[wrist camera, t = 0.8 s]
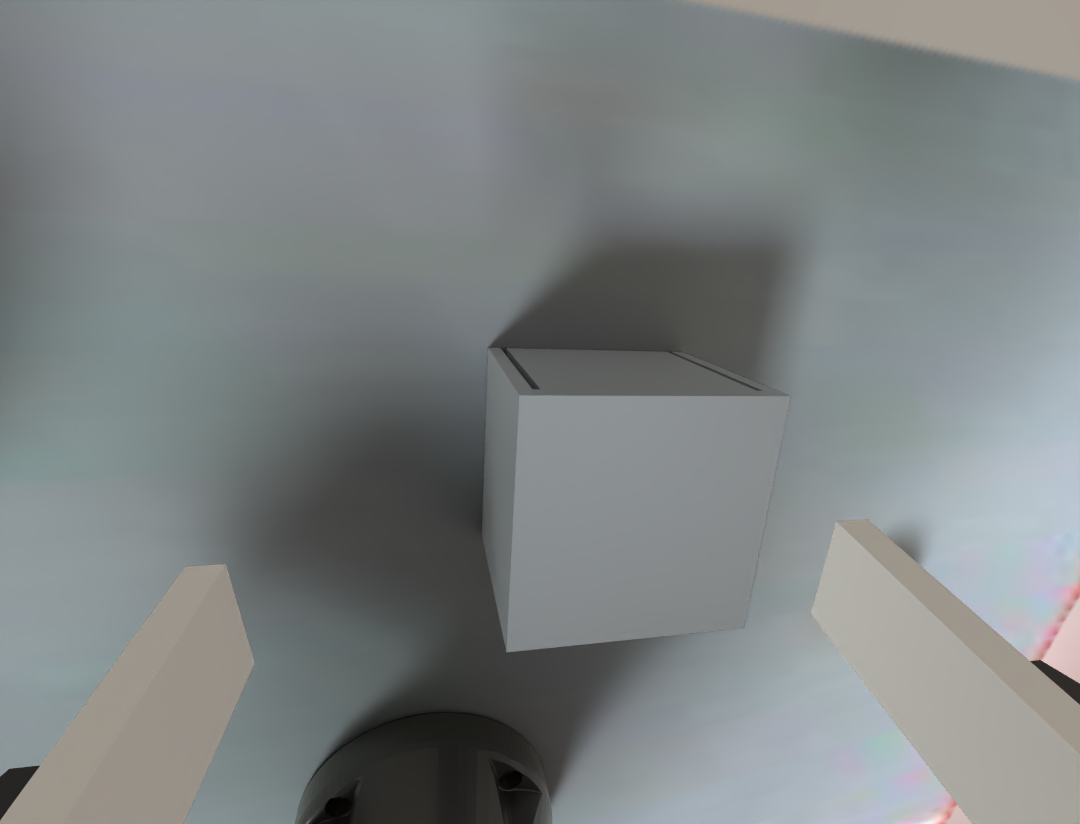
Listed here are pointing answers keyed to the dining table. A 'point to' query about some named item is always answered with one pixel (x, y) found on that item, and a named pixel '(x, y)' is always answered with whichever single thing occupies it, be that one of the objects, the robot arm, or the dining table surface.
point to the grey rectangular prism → (623, 493)
